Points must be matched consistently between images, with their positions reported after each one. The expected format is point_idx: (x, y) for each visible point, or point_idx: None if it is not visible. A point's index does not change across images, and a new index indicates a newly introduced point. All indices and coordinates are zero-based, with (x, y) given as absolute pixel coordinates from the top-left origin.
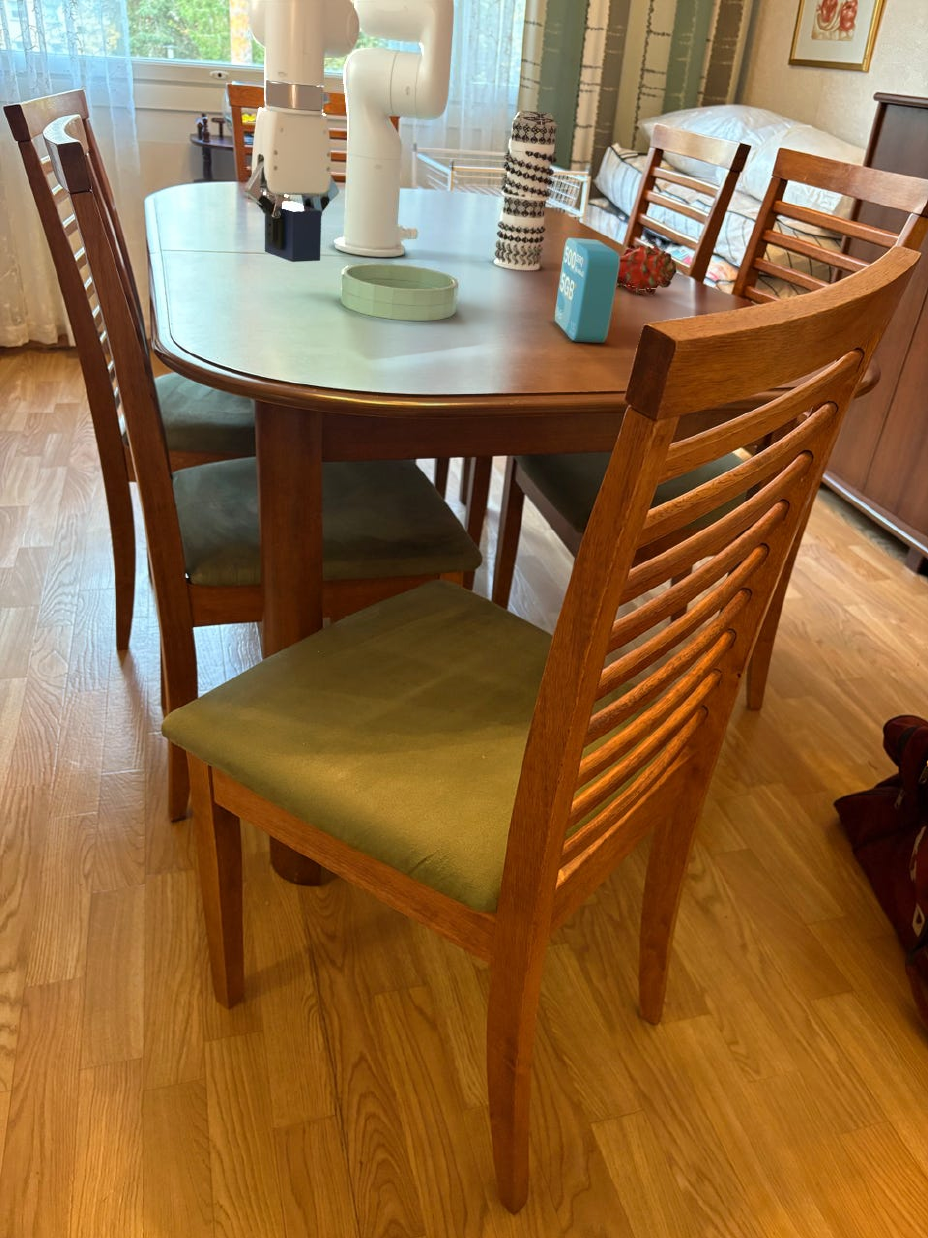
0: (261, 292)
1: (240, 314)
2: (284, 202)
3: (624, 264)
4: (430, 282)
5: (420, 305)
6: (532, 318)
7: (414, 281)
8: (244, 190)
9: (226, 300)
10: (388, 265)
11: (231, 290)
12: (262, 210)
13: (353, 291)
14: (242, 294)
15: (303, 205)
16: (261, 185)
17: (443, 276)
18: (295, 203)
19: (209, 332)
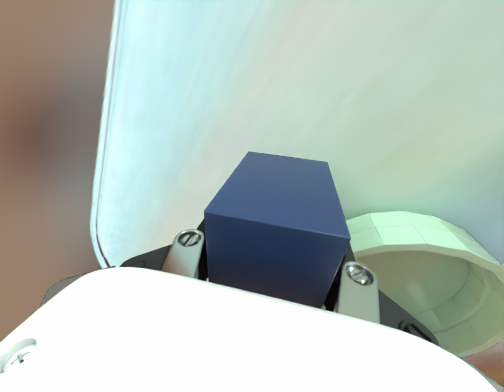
0: (264, 121)
1: (176, 201)
2: (290, 239)
3: None
4: (489, 305)
5: None
6: (487, 362)
7: (490, 281)
8: (57, 283)
9: (186, 142)
10: (487, 269)
11: (222, 86)
12: (168, 246)
13: None
14: (226, 120)
15: (321, 296)
16: (132, 278)
17: (484, 338)
18: (325, 265)
19: (128, 230)
